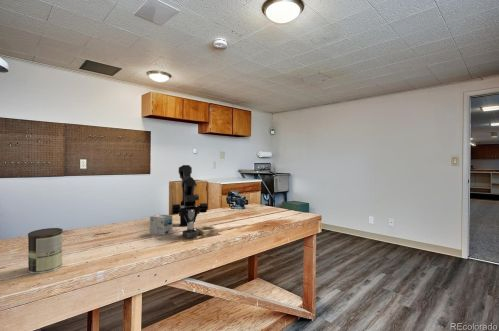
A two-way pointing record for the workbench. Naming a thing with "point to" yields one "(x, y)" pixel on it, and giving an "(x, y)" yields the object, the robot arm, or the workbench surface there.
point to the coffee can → (44, 250)
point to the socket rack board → (199, 233)
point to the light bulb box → (160, 224)
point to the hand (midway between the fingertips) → (190, 221)
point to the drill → (190, 221)
